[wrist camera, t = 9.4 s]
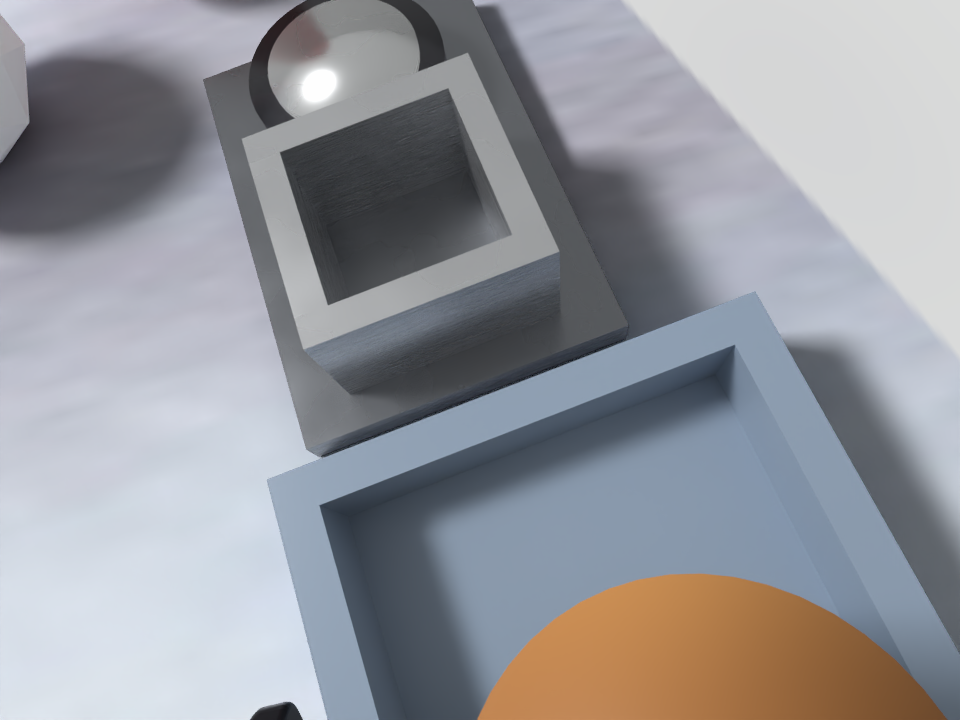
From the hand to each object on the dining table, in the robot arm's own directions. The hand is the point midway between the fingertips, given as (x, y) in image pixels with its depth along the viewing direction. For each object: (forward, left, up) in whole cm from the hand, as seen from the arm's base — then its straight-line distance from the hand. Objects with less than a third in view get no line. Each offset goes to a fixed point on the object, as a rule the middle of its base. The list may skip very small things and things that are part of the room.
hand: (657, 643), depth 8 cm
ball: (+22, +14, -9) cm, 27 cm away
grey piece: (+13, +1, -9) cm, 16 cm away
